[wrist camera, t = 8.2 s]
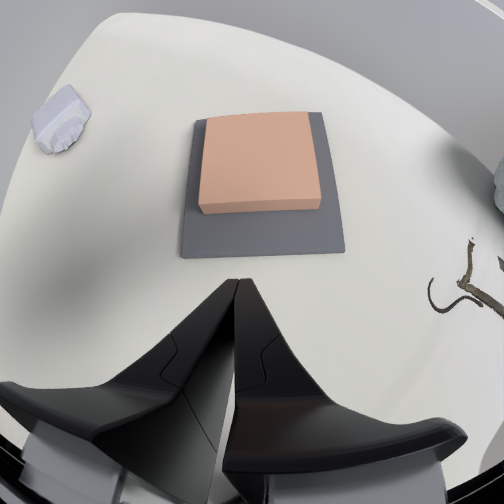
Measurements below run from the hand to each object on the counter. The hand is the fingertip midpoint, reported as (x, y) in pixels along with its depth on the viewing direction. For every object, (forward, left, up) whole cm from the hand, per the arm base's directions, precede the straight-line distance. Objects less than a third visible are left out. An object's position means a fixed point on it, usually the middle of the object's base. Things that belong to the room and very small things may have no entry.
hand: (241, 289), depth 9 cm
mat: (+9, +9, -13) cm, 19 cm away
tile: (+6, +6, -11) cm, 14 cm away
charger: (-2, +39, -14) cm, 41 cm away
